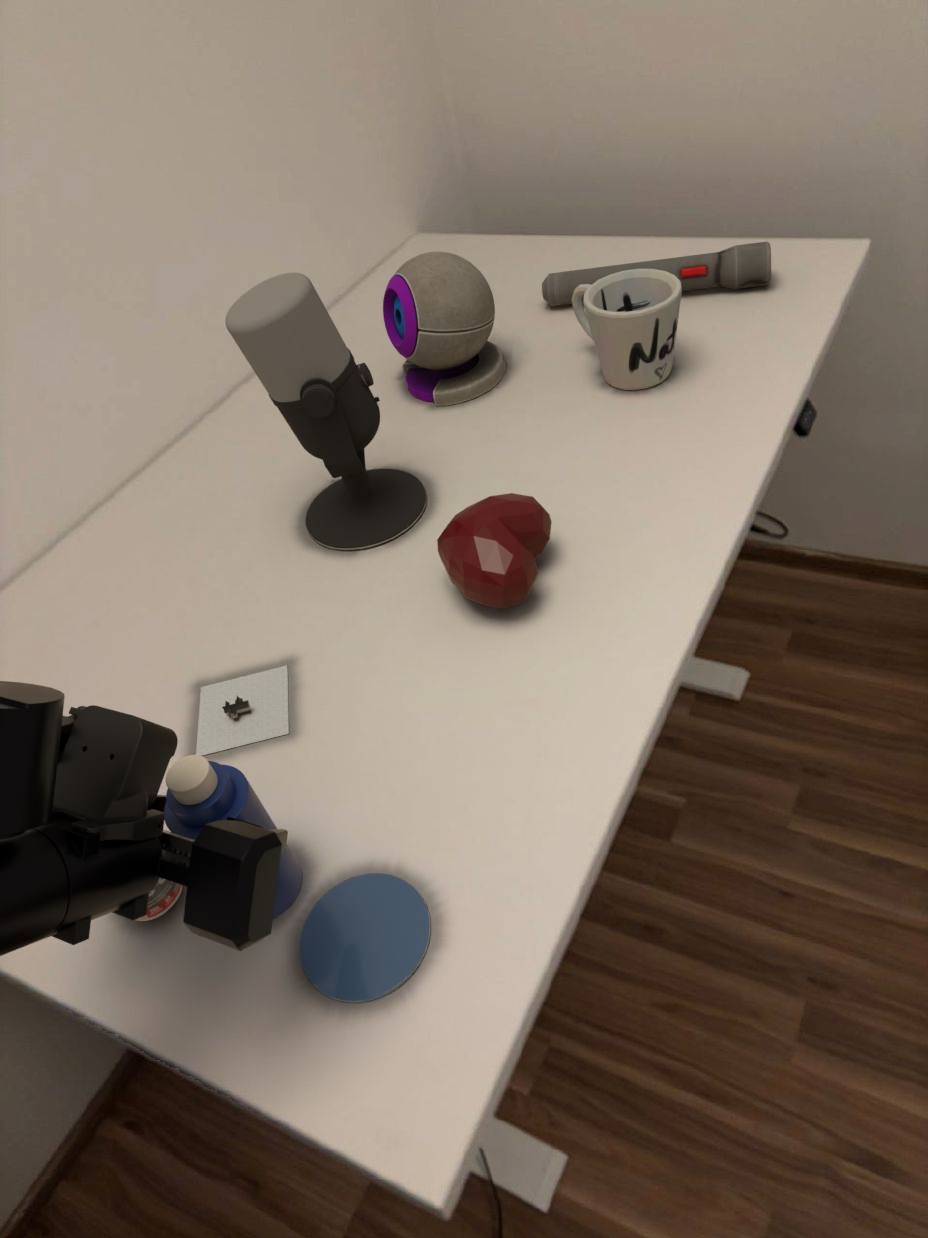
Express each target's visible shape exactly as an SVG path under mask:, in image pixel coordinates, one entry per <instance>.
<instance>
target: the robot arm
mask: <svg viewBox="0 0 928 1238" xmlns="http://www.w3.org/2000/svg"><path fill="white" fill-rule="evenodd" d="M65 697H66V696H65V693H64V692H62V691H61V690H59V689H56V688H53V687H50V686H45V685H41V684H34V683H28V682H19V681H7V680H0V957H1V956H4V955H7V954H10V953H12V952H15V951H16V950H19V949H22V948H24V947H27V946H29V945H32V944H35V943H37V942H40V941H42V940H45V939H48V938H50V937H52V938H54V939H57V940H60V941H62V942H64V943H67V944H69V945H71V946H75V945H78V944H80V943H83V942H85V941H88V940H89V939H90V933H91V924H92V921H93V920H96V919H99V918H101V917H103V916H107V915H109V914H111V913H113V914H114V915H117V916H120V917H122V918H125V919H128V920H131V921H136V919H138V918H140V917H143V916H145V915H147V906H148V898H149V892H150V891H153V890H154V889H155V887H156V885H157V883H158V881H159V878H163V879H166V880H169V881H171V882H174V883H177V884H180V885H183V887H186V893H185V902H184V910H183V918H182V923H183V925H185V926H186V928H187V929H188V930H189V931H190V932H191V933H192V934H194V935H196V936H198V937H202V938H204V939H206V940H210V941H212V942H215V943H218V944H220V945H223V946H226V947H228V948H230V949H234V950H237V951H238V952H242V951H244V950H246V949H248V948H250V947H251V946H254V945H256V944H258V943H259V942H261V941H263V940H264V939H266V938H267V937H269V936H270V935H271V934H272V929H273V928H272V927H273V921H274V918H273V914H274V907H275V899H276V891H277V883H278V875H279V867H280V859H281V854H282V852H283V850H284V848H285V847H286V844H287V843H288V834H289V831H288V830H287V829H284V828H277V829H275V830H267V829H265V828H264V827H262V826H259V825H256V824H253V823H249V822H246V821H243V820H239V819H236V818H233V817H230V816H228V817H227V820H217V821H214V822H211V823H208V824H205V826H204V827H203V829H202V830H201V832H200V833H199V835H198V836H197V838H196V839H195V840H194V839H191V838H188V837H184V836H181V835H178V834H175V833H172V832H171V831H170V830H165V829H164V826H165V813H164V809H165V804H166V801H167V800H166V794H159V792H160V789H161V786H162V784H163V780H164V777H165V776H166V773H167V769H168V766H169V764H170V761H171V759H172V758H173V757H174V756H175V753H176V752H177V747H178V736H177V734H176V732H175V730H173V729H171V728H169V727H166V726H164V725H161V724H158V723H155V722H153V721H150V720H146V719H144V718H143V717H142V718H141V717H139V716H136V715H133V714H129V713H125V712H122V711H119V710H114V709H110V708H106V707H103V706H99V705H94V704H93V705H88V706H85V705H80V706H78V707H74V706H71V707H70V709H69V711H68V714H69V715H68V716H67V715H64V708H65V707H64V706H65Z"/></svg>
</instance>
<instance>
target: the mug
mask: <svg viewBox="0 0 928 1238" xmlns="http://www.w3.org/2000/svg"><path fill="white" fill-rule="evenodd" d="M682 293H683V291H682V287H681V282H680V280H679V279H678V278H677V277H676V276H675V275H673V274H671V273H669V272H666V271H662V270H657V269H633V270H626V271H621V272H618V273H614V274H610V275H608V276H606V277H604V278H602V279H599V280H597V281H596V282H595V283H593V284H592V285H590V284H581V285H579V286H578V287H577V288H575V290H574V293H573V297H572V304H571V305H572V309H573V312H574V314H575V315H574V316H575V317H576V319H577V321H578V323H579V325H580V326H581V328H582V329H583V331H584V332H585V333H586V334H587V336H588V337H589V338H590V339H591V340H592V341H593V344H594V347H595V351H596V353H597V358H598V361H599V365H600V368H601V372H602V375H603V378H604V380H605V381H606V382H607V384H609V385H610V386H612V387H613V388H616V389H619V390H624V391H625V390H626V391H636V390H637V391H638V390H645V389H649V388H652V387H654V386H656V385H658V384H661V383H662V382H663V381H665V380H666V379H667V378H668V377H669V375H670V374H671V371H672V370H673V361H674V353H675V347H676V341H677V340H676V338H677V332H678V323H679V316H680V307H681V302H682V301H681V300H682ZM583 294H584V301H583V303H582V300H581V299H582V295H583Z"/></svg>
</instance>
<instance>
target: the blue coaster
mask: <svg viewBox="0 0 928 1238" xmlns="http://www.w3.org/2000/svg"><path fill="white" fill-rule="evenodd" d="M299 939H300V940H299V957H300V961H301V966H302V968H303V971H304V973H305V975H306V977H307V978H308V980H309V981H310V983H311V984H312V985H313V986H314V987H315V988H316V989H317V990H318V991H319V992H320V993H321V994H323V995H325V996H326V997H328V998H331V999H333V1000H335V1001H338V1002H339V1001H340V1002H344V1003H366V1002H370V1001H373V1000H377V999H380V998H382V997H385V996H387V995H389V994H391V993H392V992H394V991H396V990H397V989H399V988H400V987H401V986H402V985H404V984H405V983H406V982H407V981H408V980H409V979H410V978H411V977H412V976H413V974H414V973H415V972H416V971H417V969H418V967H419V966H420V965H421V963H422V961H423V960H424V958H425V955H426V952H427V949H428V947H429V943H430V939H431V918H430V914H429V909H428V907H427V905H426V902H425V901H424V898H423V897H422V895H421V894H420V892H419V891H418V890H417V889H416V888H415V887H414V886H413V885H412V884H410V883H409V882H407V881H406V880H404V879H402V878H400V877H398V876H395V875H392V874H387V873H381V872H372V873H364V874H359V875H356V876H352V877H350V878H347V879H345V880H343V881H341V882H339V883H338V884H336V885H334V886H333V887H332V888H331V889H329V890H328V891H327V892H325V893H324V894H323V895H322V896H321V898H320V899H319V900H318V901H316V903H315V904H314V905H313V907H312V908H311V910H310V912H309V913H308V914H307V918H306V919H305V921H304V924H303V927H302V929H301V934H300V938H299Z"/></svg>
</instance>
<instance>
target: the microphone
mask: <svg viewBox="0 0 928 1238" xmlns="http://www.w3.org/2000/svg"><path fill="white" fill-rule="evenodd" d="M224 321H225V328H226V330H227V331H228V333H229V334H230V336H231V337H232V339H233V341H234V342H235V343H236V345H237V347H238V349H239V350H240V351H241V353H242V355H243V356H244V357H245V359H246V361H247V363H248V364H249V365H250V367H251V369H252V370H253V372H254V374H255V375H256V377H257V378H258V380H259V381H260V383H261V384H262V386H263V388H264V389H265V391H266V392H267V395H268V397H269V399H270V400H271V402H272V404H273V405H274V406H275V407H276V408H277V409H278V411H279V413H280V414H281V415H282V417H283V419H284V420H285V422H286V424H287V425H288V426H289V428H290V430H291V431H292V433H293V434H294V436H295V438H296V439H297V441H298V442H299V444H300V445H301V446H302V448H303V449H304V450H305V451H306V452H307V453H308V454H310V455H311V456H312V457H315V458H316V459H319V460H322V463H323V465H324V467H325V469H326V471H328V474H329V475H330V476H331V478H332V479H336V478H340V477H341V478H340V479H337V480H336V481H334V482H333V483H331V484H330V485H328V486H327V487H325V488H324V489H323V490H322V491H320V492H319V493H318V494H317V495H316V497H315V498H313V500H312V501H311V503H310V504H309V506H308V508H307V511H306V513H305V519H304V520H305V528H306V530H307V532H308V534H309V536H310V538H311V539H312V540H313V541H314V542H315V543H317V544H318V545H320V546H322V547H324V548H326V549H329V550H333V551H340V552H355V551H364V550H368V549H373V548H376V547H379V546H382V545H385V544H387V543H390V542H391V541H394V540H395V539H397V538H399V537H400V536H403V534H405V533H406V532H408V531H409V530H410V529H411V528H413V526H415V524H416V523H418V521H419V520H420V519H421V517H422V516H423V514H424V512H425V509H426V507H427V503H428V496H427V491H426V489H425V486H424V483H423V482H422V481H421V480H420V479H419V478H418V477H417V476H415V474H411V473H410V472H407V471H406V470H401V469H396V468H372V469H367V467H366V453H365V448H367V447H368V446H369V445H370V443H371V442H372V441H373V440H374V438H375V436H376V435H377V433H378V430H379V428H380V423H381V412H380V406H379V404H378V402H380V401H381V400H380V397H379V396H376V397H375V396H374V394H373V392H372V391H371V389H370V387H371V386H373V385H374V384H375V383H374V378H373V375H372V373H371V370H370V368H369V366H368V365H367V364H366V363H365V362H361V363H356V361H355V357H354V355H353V353H352V352H351V350H350V348H349V347H348V346H347V344H346V343H345V341H344V339H343V337H342V335H341V334H340V332H339V330H338V328H337V326H336V325H335V323H334V321H333V319H332V317H331V316H330V314H329V312H328V310H327V308H326V306H325V304H324V303H323V301H322V299H321V297H320V296H319V294H318V291H317V290H316V288H315V286H314V284H313V283H312V281H311V279H310V278H309V277H308V276H307V275H305V274H303V273H300V272H285V273H281V274H277V275H274V276H272V277H270V278H267V279H265V280H263V281H261V282H259V283H257V284H256V285H255V286H253V287H251V288H250V289H249V290H246V292H244V293H243V294H242V295H240V296H239V297H238V298H237V299H236V300H235V301H234V302H233V303H232V304H231V306H230V308H229V309H228V310H227V312H226V316H225V320H224Z"/></svg>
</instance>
